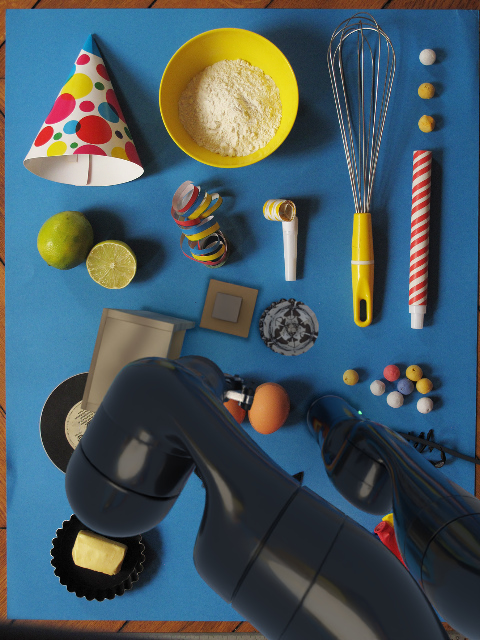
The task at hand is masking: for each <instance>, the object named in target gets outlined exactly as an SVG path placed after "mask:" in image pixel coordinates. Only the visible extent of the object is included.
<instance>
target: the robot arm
mask: <svg viewBox="0 0 480 640" xmlns="http://www.w3.org/2000/svg"><path fill="white" fill-rule="evenodd" d="M257 389H258V383H256V381H253V380H251V381H248V382H247V383H245V379H244V378H242V377H240V375H239V374H236V373H234V375H233V374H230V373H227V372H223V370H222V369H221V368H220V367H219V365H218V364H217V363H216V362H214V361H213V360H212V359H210V358H208V357H206V356H203V355H199V354H187V355H183V356H180V358H178V359H174V360H171V359H168V358H162V357H155V356H153V357H144V358H139V359H136V360H134V361H132V362H130V363H128V364H127V365H125V366H124V367H123V368H122V369H121V371H120V372H119V373H118V374H117V376H116V377H115V379H114V380H113V382H112V384H111V386H110V387H109V389H108V391H107V393H106V395H105V396H104V398H103V401H102V402H101V404H100V406H99V407H98V409H97V411H96V412H94V415H92V416H93V417H92V418H91V420H90V422H89V423H88V425H87V427H86V429H85V430H84V432H83V434H82V437H81V438H80V440H79V441H78V443H77V445H76V447H75V449H74V450H73V452H72V454H71V456H70V458H69V461H68V463H67V466H66V470H65V474H64V475H65V476H64V490H65V495H66V499H67V503H68V504H69V506H70V509H71V510H72V512H73V513H74V515H75V517H76V518H77V519H78V520H79V521H80V522H81V524H83V525H84V526H86V527H87V528H88V529H90V530H91V531H93V532H96V533H98V534H100V535H103V536H107V537H112V538H130V537H135V536H139V535H142V534H145V533H146V532H149V531H151V530H152V529H155V528H156V527H157V526H158V525H160V524H161V523H162V522H164V520H165V519H166V518H167V517H168V515H170V513H171V511H172V509H173V508H174V507H175V505H176V503H177V501H178V499H179V498H180V496H181V495H182V492H183V490H184V488H185V487H186V485H187V483H188V482H189V480H190V478H191V477H192V475H193V473H194V471H195V469H196V470H197V473H198V474H199V476H200V478H201V481H202V484H203V487H204V491H205V495H204V507H203V511H202V515H201V519H200V522H199V526H198V529H197V534H196V537H195V540H194V544H193V551H192V561H193V565H194V569H195V570H196V572H197V574H198V575H199V577H200V578H201V579H202V580H203V582H204V583H206V585H207V586H208V587H209V588H210V589H211V590H212V591H213V592H215V594H216V595H217V596H219V597H220V598H221V599H222V600H223V601H224V602H225V603H226V604H228V605H230V607H231V608H232V609H233V610H234V611H235V612H236V613H237V614H239V615H240V616H241V617H242V618H243V619H244V620H246V621H247V623H249V624H250V625H251V626H252V627H253V628H254V629H255V630H256V631H258V632H259V633H260V634H261V635H262V636H263V637H264V638H266V639H267V640H452V639H451V637H450V635H449V633H448V631H447V630H446V627H445V626H444V624H443V623H442V620H441V619H440V617H441V618H442V619H443V620H444V621H445V623H446V624H447V625H449V627H450V628H452V630H454V631H455V632H457V633H458V634H460V635H461V636H463V637H464V638H466V639H467V640H480V499H479V498H478V497H476V496H475V495H474V494H473V493H470V491H468V490H467V489H465V488H464V487H463V486H461V485H459V484H458V483H456V482H455V481H454V480H452V479H451V478H449V477H448V476H447V475H446V474H444V473H443V472H442V471H441V470H439V469H438V468H437V467H436V466H435V465H433V464H432V463H431V462H430V461H429V460H428V459H427V457H425V456H424V455H423V454H422V453H420V451H419V450H418V449H417V448H416V447H414V446H413V445H412V444H411V443H410V442H409V441H412V442H415V443H419V444H422V445H424V446H427V447H431V448H433V449H436V450H439V451H441V452H443V453H445V454H448V455H450V456H452V457H455V458H457V459H461V460H463V461H466V462H470V463H472V464H475V465H479V466H480V459H478V458H474V457H472V456H469V455H467V454H463V453H460V452H459V451H455V450H453V449H452V448H451V449H450V448H448V447H446V446H444V445H442V444H439V443H437V442H433V441H431V440H427V439H424V438H421V437H418V436H415V435H412V434H408V433H404V432H399V431H395V430H394V429H392V428H390V427H389V426H387V425H385V424H383V423H381V422H378V421H375V420H372V419H371V418H369V417H366V416H364V415H363V414H362V412H361V411H360V410H357V409H356V408H355V407H352V406H351V404H349V402H347V401H346V400H345V399H344V398H342V397H341V396H338V395H336V394H335V395H334V394H325V395H321V396H319V397H318V398H316V399H315V400H314V401H313V402H312V403H311V404H310V406H309V407H308V410H307V413H306V423H307V427H308V432H309V433H310V434H311V436H312V437H313V438H314V440H315V441H316V443H317V445H318V447H319V449H320V459H321V462H322V465H323V467H324V470H325V474H326V475H327V478H328V479H329V482H330V483H331V485H332V486H333V488H334V489H335V490H336V491H337V494H339V495H340V496H341V497H342V498H343V499H344V500H345V501H347V502H348V503H349V504H350V505H351V506H352V507H354V508H356V509H357V510H359V511H361V512H363V513H365V514H368V515H371V516H377V517H378V516H379V517H381V516H385V515H388V514H389V513H390V512H391V511H392V524H393V528H394V529H393V530H394V535H395V542H396V545H397V549H398V552H399V554H400V557H401V559H400V558H399V557H398V556H397V555H396V554H395V553H394V552H393V551H392V549H390V548H389V547H388V546H387V545H386V544H385V543H384V542H383V541H382V540H381V539H380V538H378V537H377V536H376V535H374V533H372V532H371V531H370V530H369V529H367V527H364V525H362V524H361V523H359V522H358V521H356V520H355V519H353V518H352V517H350V516H349V515H347V514H346V513H345V512H344V511H342V510H341V509H339V508H338V507H337V506H335V505H334V504H332V503H331V502H330V501H328V500H327V499H325V498H324V497H322V496H321V495H320V494H319V493H316V491H314V490H312V489H311V488H310V487H309V486H307V485H304V484H302V482H300V481H299V480H298V479H297V478H295V477H294V476H292V475H291V474H290V473H289V472H287V471H286V470H285V469H284V468H283V467H281V466H280V465H279V464H278V463H277V462H276V461H275V460H274V459H273V458H272V457H271V456H270V455H268V453H267V452H266V451H265V450H264V449H262V447H261V446H260V445H259V444H258V443H257V442H256V441H255V440H254V438H252V437H251V435H250V434H249V433H248V432H247V431H246V429H244V427H243V426H242V425H241V424H240V422H238V420H237V419H236V418H235V417H234V415H233V414H232V412H231V411H230V410H229V409H228V408H227V406H226V405H225V403H228V402H229V401H231V400H233V401H237V406H240V409H241V410H243V411H245V412H247V411H251V410H252V407H253V405H254V401H255V395H256V391H257ZM408 440H409V441H408ZM440 447H441V448H442V450H441V448H440ZM401 560H402V561H403V562H402V561H401ZM437 613H438V614H437ZM439 616H440V617H439Z"/></svg>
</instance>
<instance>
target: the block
mask: <svg viewBox="0 0 480 640" xmlns="http://www.w3.org/2000/svg"><path fill="white" fill-rule="evenodd" d="M242 301H243V298H242V297H238V296H233V295H229V294H224V293H220V292H217V294H216V299H215V303H214V307H213V312H212V316H211V317H212V318H217V319H221V320H225V321H230V322H234V323H237V322H238V318H239V314H240V310H241V305H242Z"/></svg>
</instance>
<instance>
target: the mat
mask: <svg viewBox="0 0 480 640" xmlns="http://www.w3.org/2000/svg"><path fill="white" fill-rule="evenodd" d="M217 292H220V293H224V294H229V295H233V296H238V297H242V298H243V301H242V305H241V310H240V314H239V318H238V322H237V323H234V322H230V321H225V320H221V319H217V318H212V317H211V316H212V312H213V307H214V303H215V299H216V294H217ZM258 294H259V289H257V288H256V289H255V288H252V287H247V286H243V285H239V284H235V283H232V282H231V283H230V282H226V281H222V280H218V279H214V278H213V279H212V278H210V279H209V285H208V288H207V292H206V297H205V301H204V306H203V309H202V314H201V319H200V323H199V327H200V328H202V329H208V330H211V331H216V332H220V333H225V334H229V335H233V336H237V337H241V338H245V339H247V338H248V337H249V332H250V329H251V325H252V319H253V316H254V311H255V308H256V307H255V306H256V303H257V298H258Z"/></svg>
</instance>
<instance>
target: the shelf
mask: <svg viewBox="0 0 480 640" xmlns="http://www.w3.org/2000/svg"><path fill="white" fill-rule="evenodd" d="M98 325H99V326H98V329H97V335H96V338H95V342H94V348H93V352H92V356H91V361H90V365H89V369H88V374H87V378H86V382H85V387H84V391H83V395H82V400H81V403H80V404H81V405H80V407H79V408H80V410H83V411H88V412H93V413H96V411H97V409H98V407H99V406H100V404H101V402H102V401H103V398H104V396H105V395H106V393H107V391H108V389H109V387H110V386H111V384H112V382H113V380H114V379H115V377H116V376H117V374H118V373H119V372H120V371H121V369H122V368H123V367H124V366H125V365H127V364H128V363H130V362H132V361H134V360H136V359H139V358H144V357H153V356H155V357H162V358H168V359H171V360H174V359H178V358H180V357H181V353H182V350H183V346H184V340H185V338H186V337H185V336H186V332H187V330H191V329H195V328H196V321H193V320H187V319H184V318H179V317H174V316H171V315H167V314H163V313H157V312H153V311H149V310H146V309H145V310H143V309H130V308H128V309H127V308H116V307H115V308H114V307H102V312H101V317H100V321H99V324H98Z"/></svg>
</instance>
